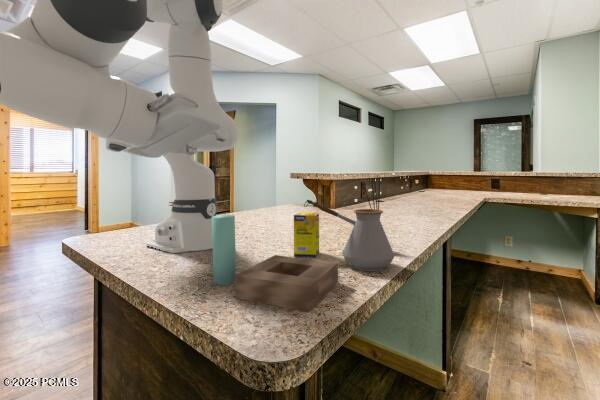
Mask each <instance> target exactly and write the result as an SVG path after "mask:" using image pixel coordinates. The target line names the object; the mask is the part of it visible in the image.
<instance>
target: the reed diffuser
mask: <svg viewBox="0 0 600 400" xmlns="http://www.w3.org/2000/svg"><path fill="white" fill-rule="evenodd" d="M361 183H362V186H363V189H364V192H365V196H366V199H367V202H368V205H369V207H370V208H369V209H375V210H380V194H381V193H380V192H381V191H380V190H381V188H380V187H381V179H380V178H379V179H378V200H377V185H376V178H375V177H374V178H373V180H371V191H372V192H371V193H372V202H373V203H372V205H373V208H372V205H371V203H370V199H369V196H368V193H367V190H366V187H365V184H364V181H363V180H361ZM373 183H374V184H373ZM375 205H376V206H375Z"/></svg>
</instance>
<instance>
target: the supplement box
mask: <svg viewBox="0 0 600 400" xmlns="http://www.w3.org/2000/svg"><path fill="white" fill-rule="evenodd" d="M319 253H320V212H308V211H307V212H304V211H303V212H302V211H299V212H297V213H296V214H294V215H293V257H295V258H312V259H314V258H317V256H318V254H319Z"/></svg>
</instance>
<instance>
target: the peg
mask: <svg viewBox="0 0 600 400" xmlns="http://www.w3.org/2000/svg"><path fill="white" fill-rule="evenodd" d="M235 219H236V217H235V215H233V214H232V215H231V214H222V215H220V214H219V215H216V216H212V246H213V248H212V264H213V265H212V271H213V274H212V275H213V276H212V277H213V283H214V285H218V286H225V285H227V286H228V285H232V284H233V283H234V284H235V275H236V274H237V257H236V252H237V251H236V220H235Z"/></svg>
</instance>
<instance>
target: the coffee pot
mask: <svg viewBox="0 0 600 400" xmlns="http://www.w3.org/2000/svg"><path fill="white" fill-rule="evenodd" d="M306 203H307V204H306ZM303 204H304V205H303V207H304V208H307V207H308V206H309V205H312V207H314V208H315V207H316V208H317V209H319V210H321V211H322V212H324V213H327V214H329V215H332V216H334V217H337V218H339V219H341V220H343V221H345V222H347V223H349V224H351V225H353V227H352V230H351V232H350V234H349V237H348V239H347V241H346V243H345V246H344V249H343V250H342V256H343V258H344V260H345V262H347V264H349V265H350V267H351V268H353V269H355V270H358V271H363V272H379V271H383V270H384V269H386V267H387V266H389V265H390V264H391V263H392V262H393V260H394V258H395V253H394V250H393V249H392V247H391V244H390V242H389V238H388V236H387V234H386V232H385V229H384V227H383V224H382V223H381V222H382V221H381V215H382V214H383V213H384V210H382V209H379V210H377V209H376V208H375V209H374V208H372V209H371V208H368V209H367V208H366V209H365V208H364V209H360V208H359V209H355V210H353V213H354V214H355V217H356V220H354V219H351V218H349V217H347V216H345V215H342V214H340V213H339V212H337V211H335V210H333V209H331V208H329V207H327V206H325V205H323V204H319V203H317V202H316V201H313V200H310V199H306V201H305V203H303Z"/></svg>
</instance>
